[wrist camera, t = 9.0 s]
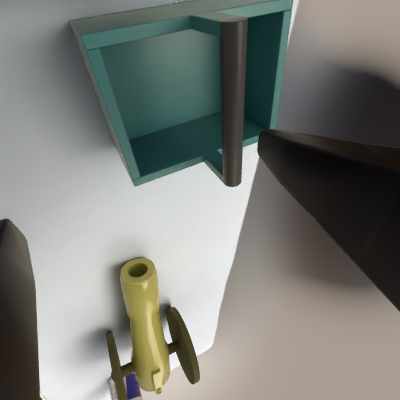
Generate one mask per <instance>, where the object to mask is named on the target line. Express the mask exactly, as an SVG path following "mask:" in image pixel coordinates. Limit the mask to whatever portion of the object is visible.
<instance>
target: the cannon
mask: <svg viewBox="0 0 400 400" xmlns="http://www.w3.org/2000/svg"><path fill="white" fill-rule="evenodd" d="M120 274H121V275H120V283H121V288H122V292H123V297H124V302H125V307H126V312H127V315H128V316H129V318H130V329H131V340H132V352H131V361H132V362H130V363H128V364H126V365H123V366H121V365H120V361H119V356H118V352H117V348H116V344H115V340H114V336H113V333H112V332H111V333H108V334H106V339H107V346H108V352H109V357H110V362H111V368H112V373H111V377H112V380H113V381H114V382H115V387H116V391H117V396H118V400H128V397H127V392H126V388H125V383H124V378H123V377H125V376H127V375H129V374H131V373H133V372H134V375H135V379H136V382H137V384H138V386H139V387H140V388H141V389H143V390H145V391H155V393H156V394H159V393H161V392H162V390H163V389H162V386H163V385H164V384H165V383H166V382H167V380H168V378H169V374H170V362H169V355H170V354H172V353H174V352H176V354H177V356H178V359H179V361H180V364H181V366H182V369H183V371H184V372H185V375H186V377H187V378H188V380H189V382H190V383H191V384H195V383H196V382H198V381H199V379H200V373H199V366H198V361H197V357H196V354H195V350H194V347H193V344H192V341H191V338H190V335H189V333H188V330H187V328H186V326H185V323H184V321H183V319H182V317H181V315H180V314H179V312H178V311H177V309H176V308H175V307H171V308H169V309H168V310H167V321H168V326H169V330H170V334H171V338H172V341H173V342H172V343H170V344H167V342H166V340H165V338H164V333H163V329H162V324H161V319H160V314H159V307H160V301H159V291H158V280H157V271H156V269H155V266H154V264H153V262H152V261H150V260H148V259H145V258H137V259H133V260H130V261H129V262H127V263H126V264H125V265H124V266H123V267H122V269H121V272H120Z"/></svg>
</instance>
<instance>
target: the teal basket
mask: <svg viewBox="0 0 400 400" xmlns="http://www.w3.org/2000/svg"><path fill="white" fill-rule="evenodd" d="M292 5H293V0H192V1H186V2H179V3H173V4H167V5H161V6H155V7H149V8H143V9H137V10H130V11H124V12H118V13H112V14H106V15H100V16H94V17H88V18H81V19H75V20H70V21H69V23H70V25H71V28H72V31H73V34H74V36H75V39H76V42H77V44H78V47H79V50H80V52H81V55H82V58H83V60H84V63H85V66H86V68H87V71H88V74H89V76H90V79H91V82H92V84H93V87H94V90H95V92H96V95H97V98H98V100H99V103H100V106H101V108H102V111H103V114H104V116H105V119H106V122H107V125H108V127H109V130H110V133H111V135H112V138H113V141H114V143H115V146H116V148H117V150H118V152H119V155H120V157H121V159H122V161H123V163H124V165H125V167H126V169H127V171H128V174H129V176H130V178H131V180H132V182H133V184H134V186H138V185H141V184H143V183H146V182H149V181H152V180H154V179H157V178H160V177H163V176H165V175H168V174H171V173H174V172H176V171H179V170H182V169H185V168H187V167H190V166H193V165H196V164H198V163H201V162H205V163H206V165H207V166H208V167H209V168H210V169H211V170H212V171H213V172H214V173H215V174H216V175H217V176H218V177H219V179H220V180H221V181H222V182H223V183H224V184H225V185H226V186H229V187H235V186H238V185H239V184H240V183H241V174H242V149H243V147H245V146H248V145H251V144H253V143H256V142H258V138H259V133H260V132H261V131H264V130H267V129H275V127H276V120H277V113H278V106H279V98H280V91H281V84H282V76H283V70H284V63H285V55H286V48H287V41H288V34H289V27H290V20H291V12H292V10H291V9H292Z"/></svg>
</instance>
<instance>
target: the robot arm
mask: <svg viewBox="0 0 400 400" xmlns="http://www.w3.org/2000/svg"><path fill="white" fill-rule="evenodd" d="M257 151H258V155H259V156H260V158H261V159H262V160H263V162H264V163H265V164H266V166H267V167H268V168H269V170H270V171H271V172H272V174H273V175H274V176H275V178H276V179H277V180H278V181H279V182H280V184H281V185H282V186H283V187H284V188H285V189H286V190H287V191H288V192H289V193H290V194H291V196H292V197H293V198H294V199H295V200H296V201H297V202H298V203H299V204H300V205H301V206H302V207H303V208H304V209H305V210H306V212H307V213H308V214H309V215H310V216H311V217H312V218H313V219H314V220H315V221H316V222H317V223H318V224H319V226H320V227H321V228H322V229H323V230H324V231H325V232H326V233H327V234H328V235H329V236H330V237H331V238H332V239H333V241H334V242H335V243H336V244H337V245H338V246H339V247H340V248H341V249H342V250H343V251H344V252H345V253H346V254H347V256H349V258H350V259H351V260H352V261H353V262H355V264H356V265H357V266H358V267H359V268H360V270H361V271H362V272H363V273H364V274H365V275H366V276H367V277H368V278H369V279H370V280H371V281H372V283H373V284H374V285H375V286H376V287H377V288H378V289H379V290H380V291H381V292H382V293H383V294H384V295H385V296H386V298H388V300H389V301H390V302H391V303H392V304H393V305H394V306H395V307H396V308H397V309H398V310H399V311H400V148H394V147H386V146H380V145H373V144H366V143H364V144H363V143H360V142H353V141H346V140H339V139H333V138H326V137H321V136H313V135H308V134H301V133H295V132H288V131H282V130H275V129H267V130H264V131H261V132H260V133H259V138H258V148H257ZM0 400H40V383H39V360H38V336H37V313H36V290H35V281H34V275H33V270H32V264H31V259H30V254H29V249H28V244H27V240H26V238H25V236H24V235H23V234H22V233H21V232H20V230H19V229H18V228H17V227H16V226H15V225H14V224H13V223H12V222H11V221H10V220H9V219H2V220H0Z"/></svg>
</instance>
